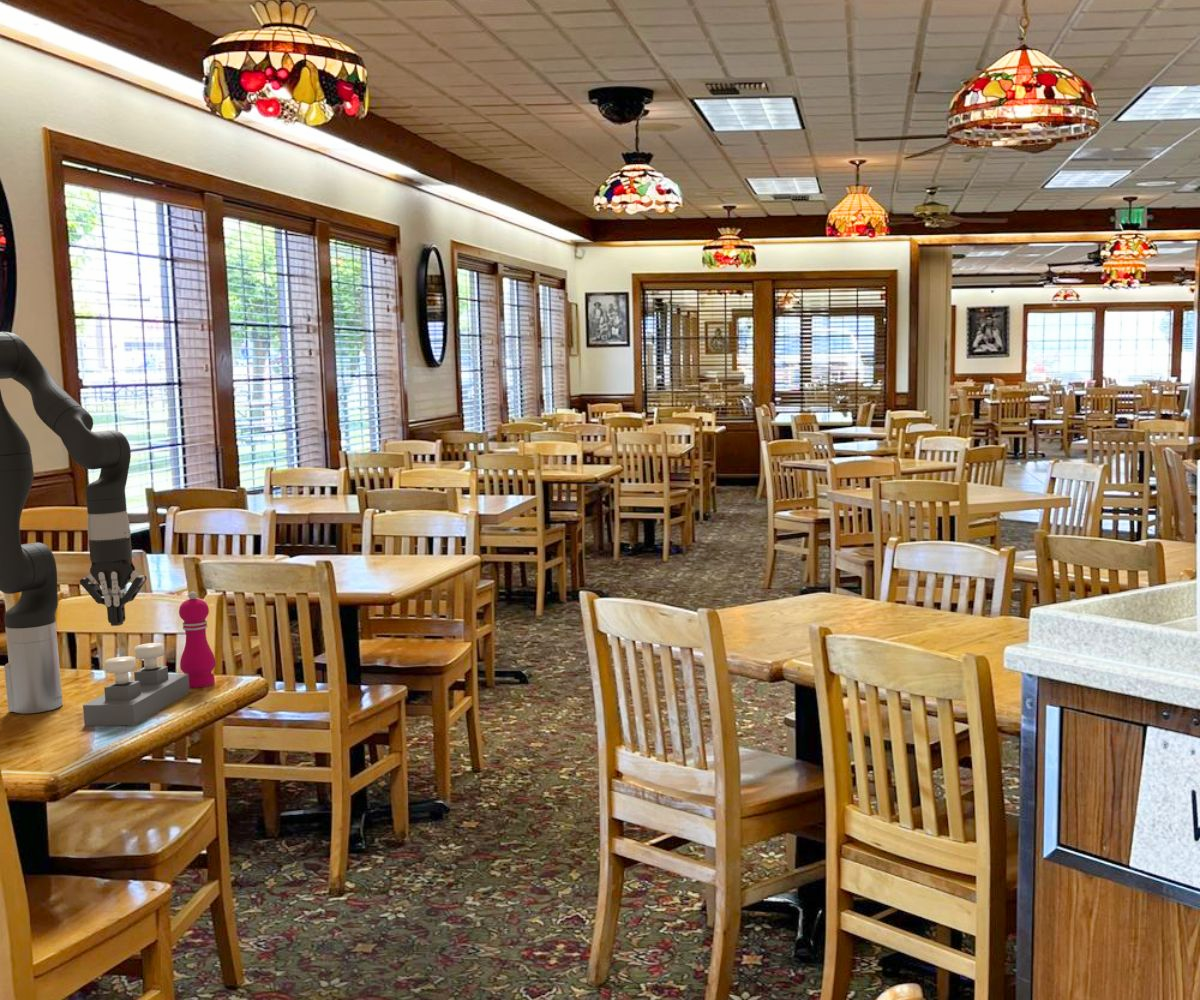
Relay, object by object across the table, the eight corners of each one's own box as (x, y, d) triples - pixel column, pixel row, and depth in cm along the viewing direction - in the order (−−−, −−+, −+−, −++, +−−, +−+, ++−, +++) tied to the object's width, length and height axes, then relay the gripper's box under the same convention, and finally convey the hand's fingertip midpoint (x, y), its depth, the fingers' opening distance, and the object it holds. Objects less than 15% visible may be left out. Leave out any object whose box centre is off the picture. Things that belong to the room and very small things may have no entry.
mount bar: (84, 725, 243) (81, 692, 242) (143, 693, 266) (141, 662, 266) (134, 725, 241) (131, 691, 241) (189, 692, 265) (187, 661, 264)
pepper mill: (206, 688, 268) (199, 594, 266) (175, 688, 269) (167, 594, 267) (223, 680, 275) (216, 588, 273) (192, 679, 276) (185, 588, 274)
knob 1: (101, 686, 245) (99, 663, 244) (115, 679, 250) (113, 656, 250) (128, 686, 244) (127, 663, 244) (142, 678, 250) (140, 656, 249)
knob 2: (131, 671, 257) (129, 649, 256) (144, 664, 262) (142, 643, 262) (157, 670, 256) (155, 648, 255) (170, 664, 261) (168, 642, 261)
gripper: (66, 539, 241) (74, 630, 243) (132, 537, 240) (140, 628, 241) (86, 534, 249) (94, 622, 250) (151, 531, 247) (159, 620, 249)
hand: (117, 624), depth 246 cm, fingers closed
